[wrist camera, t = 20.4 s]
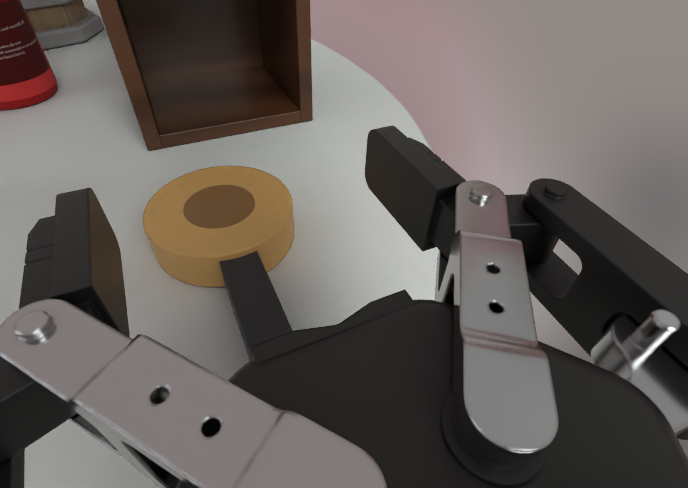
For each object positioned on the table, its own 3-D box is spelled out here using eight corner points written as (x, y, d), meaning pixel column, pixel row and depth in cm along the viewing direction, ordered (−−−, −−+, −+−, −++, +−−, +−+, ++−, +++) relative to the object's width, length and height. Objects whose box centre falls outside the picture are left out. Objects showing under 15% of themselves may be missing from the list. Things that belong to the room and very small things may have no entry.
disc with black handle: (147, 212, 28) (135, 181, 27) (270, 184, 31) (267, 154, 30) (207, 531, 15) (192, 514, 13) (409, 430, 18) (419, 405, 16)
